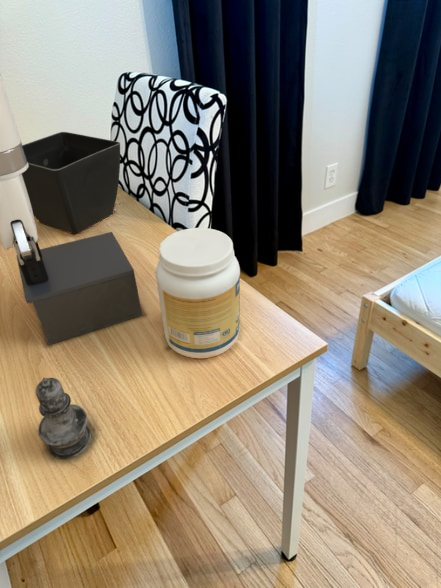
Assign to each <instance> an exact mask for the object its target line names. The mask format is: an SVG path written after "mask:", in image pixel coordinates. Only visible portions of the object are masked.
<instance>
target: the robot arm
mask: <svg viewBox="0 0 441 588" xmlns="http://www.w3.org/2000/svg"><path fill="white" fill-rule="evenodd" d="M4 85H5V84H4V81H3V79H2V76H1V74H0V243H1V247H2V248H3V249H4V250H7V251H8V250H9V249H13V248H14V249H15V252H16V255H17V256H18V259H19V261H20V262H19V265H20V268H21V271H22V273H23V276H24V278H25V281H26V284H27V285H28V286H30V285H34V284H38V283H42V282H45V281H48V280H49V278H48V275H47V272H46V269H45V266H44V263H43V260H42V254H41V251H40V249H41V248H40V246H39V243H38V241H39V235H38V230H37V225H36V220H35V219H36V218H35V216H34V215H33V211H32V207H31V203H30V200H29V196H28V193H27V189H26V186H25V183H24V180H23V177H22V174H21V173H23V172H25V171H26V170H27V168H28V167H29V165H28V162H27V159H26V156H25V152H24V149H23V146H22V145H23V143H22V140H21V137H20V133H19V130H18V127H17V123H16V121H15V116H14V114H13V111H12V108H11V104H10V101H9V98H8V95H7V92H6V91H7V90H6V88H5V86H4ZM29 245H32V248H33V250H30V247H29ZM33 251H34V252H33ZM17 256H16V257H17Z"/></svg>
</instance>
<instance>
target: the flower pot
mask: <svg viewBox="0 0 441 588" xmlns="http://www.w3.org/2000/svg"><path fill="white" fill-rule="evenodd" d="M22 146H23V149H24V152H25V156H26V159H27V162H28V165H29V167H28V168H27V170H26V171H25V172H23V173H21V174H22V177H23V180H24V183H25V186H26V189H27V193H28V196H29V200H30V203H31V207H32V211H33V215H34V218H35V219H36V220H37V221H38V222H39V224H43V225H46V226H49V227H51V228H54V229H58V230H60V231H63V232H67V233H69V234H73V235H76V234H79V233H82V232H83V231H85V230H87V229H89V228H90V227H92V226H94V225H96V224H97V223H99V222H100V221H102V220H104V219H106V218H107V217H109V216H111V215H112V214H113V213H114V211H115V206H116V201H117V195H118V190H119V183H120V172H121V171H120V169H121V142H120V141H117V140H111V139H106V138H100V137H95V136H89V135H84V134H81V133H80V134H79V133H74V132H69V131H68V132H67V131H60V132H57V133H54V134H50V135H48V136H45V137H42V138H39V139H36V140H33V141H31V142H28V143H25V144H22Z"/></svg>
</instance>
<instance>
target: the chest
mask: <svg viewBox="0 0 441 588" xmlns="http://www.w3.org/2000/svg"><path fill="white" fill-rule="evenodd" d="M139 296H140V295H139V290H138V285H137V279H136V274H135V273H134V274H131V275H128V276H124V277H121V278H117V279H113V280H110V281H106V282H103V283H99V284H96V285H92V286H89V287H85V288H82V289H78V290H75V291H71V292H67V293H64V294H60V295H57V296H53V297H50V298H46V299H43V300H39V301H36V302H32V304H33V307H34V310H35V312H36V315H37V317H38V321H39V323H40V325H41V327H42V331H43V333H44V336H45V339H46V341H47V344H48V345H49V346H50V345H53V344H56V343H60V342H64V341H67V340H70V339H72V338H76V337H80V336H82V335H85V334H88V333H91V332H92V333H93V332H94V331H97V330H98V331H99V330H101V329H104V328H108V327H110V326H114V325H117V324H119V323H122V322H125V321H129V320H132V319H135V318H138V317H141V316H143V313H142V307H141V302H140V297H139Z"/></svg>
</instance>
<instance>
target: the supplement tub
mask: <svg viewBox="0 0 441 588" xmlns="http://www.w3.org/2000/svg"><path fill="white" fill-rule="evenodd" d="M158 252H159V253H158V254H159V255H158V259H159V261H158V262H157V265H156V268H155V280H156V285H157V292H158V299H159V300H158V301H159V307H160V313H161V320H162V326H163V334H164V338H165V340H166V343H167V344H168V346H169V347H170V348H171V349H172V350H173V351H175V352H176V353H177V354H179V355H181V356H184V357H188V358H193V359H209V358H213V357H216V356H219V355H221V354H223V353H225V352H227V351H228V350H229V349H231V348H232V347H233V346H234V344H235V343H236V341H237V340H238V337H239V335H240V331H241V324H240V323H241V267H240V264H239V263H240V262H239V261H238V259H237V256H235V250H234V243H233V240H232V239H231V237H230V236H228V235H227V234H226V233H225V232H222V231H220V230H217V229H213V228H208V227H192V228H191V227H190V228H185V229H181V230H178V231H175V232H173V233H171V234H169V235H167V236H166V237H165V238H163V240H162V241H161V242H160V244H159V248H158Z"/></svg>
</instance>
